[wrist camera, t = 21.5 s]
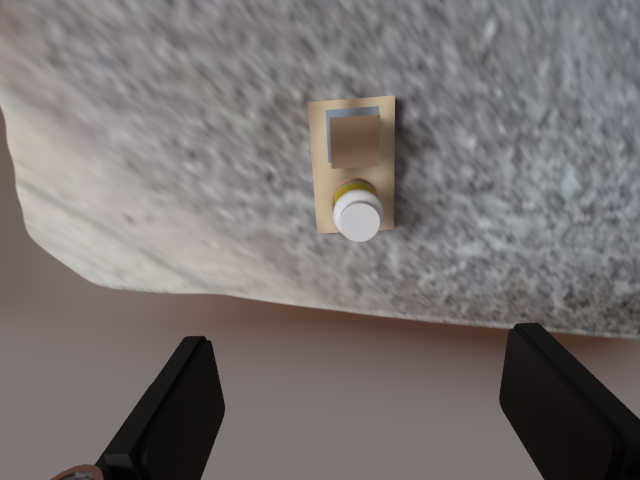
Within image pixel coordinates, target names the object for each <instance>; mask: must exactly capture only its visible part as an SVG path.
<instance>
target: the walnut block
mask: <svg viewBox="0 0 640 480" xmlns="http://www.w3.org/2000/svg"><path fill="white" fill-rule="evenodd" d="M329 119H330V143H331V166H332V169H338V168H358V167H377V166H380V115H367V116H350V117H333V118H329Z"/></svg>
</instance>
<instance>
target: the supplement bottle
mask: <svg viewBox="0 0 640 480" xmlns="http://www.w3.org/2000/svg"><path fill="white" fill-rule="evenodd" d="M383 214H384V213H383V207H382V204H381V202H380V201H379V199H378V197H377V195H376V194H375V192H374V190H373V189H372V187H371V186H370V185H369V184H367V183H366V182H364V181H361V180H350V181H347V182H345V183H343V184H342V185H340V186H339V187H338V189H337V190H336V192H335V194H334V197H333V220H334V223H335V225H336V227H337V229H338V230H339V231H340V232H341V233H342V234H343V235H345V236H346V237H347V238H348V239H350V240H352V241H356V242H363V241H367V240H369V239H371V238H373V237H374V236H375V235H376V233H377V232H378V230H379V228H380V226H381V224H382V221H383Z"/></svg>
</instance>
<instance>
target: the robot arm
mask: <svg viewBox="0 0 640 480" xmlns="http://www.w3.org/2000/svg"><path fill="white" fill-rule="evenodd" d="M499 400H500V405H501V408H502V410H503V412H504V414H505V415H506V417H507V419H508V420H509V422H510V423H511V425H512V427H513V428H514V430H515V432H516V433H517V435H518V437H519V438H520V440H521V442H522V443H523V445H524V447H525V448H526V450H527V452H528V453H529V455H530V457H531V458H532V460H533V462H534V463H535V465H536V467H537V468H538V470H539V472H540V473H541V475H542V477H543V478H544V480H640V419H639V418H638V417H637V416H636V415H635V414H633V413H632V412H631V411H630V410H629V409H628V408H627V407H626V406H625V405H624V404H623V403H622V402H621V401H620V400H619V399H618V398H617V397H616V396H615V395H614V394H612V393H611V392H610V391H609V390H608V389H607V388H606V387H605V386H604V385H603V384H602V383H601V382H600V381H599V380H598V379H597V378H596V377H595V376H594V375H593V374H591V373H590V372H589V371H588V370H587V369H586V368H585V367H584V366H583V365H582V364H581V363H580V362H579V361H578V360H577V359H576V358H575V357H574V356H573V355H572V354H570V353H569V352H568V351H567V350H566V349H565V348H564V347H563V346H562V345H561V344H560V343H559V342H558V341H557V340H556V339H555V338H554V337H553V336H552V335H550V333H548V332H547V331H546V330H545V329H544V328H543V327H542V326H541V325H540V324H538V323H518V324H516V325H515V326H514V329H510V330H509V333H508V339H507V346H506V354H505V361H504V367H503V375H502V381H501V388H500V396H499ZM224 412H225V404H224V399H223V394H222V389H221V385H220V380H219V375H218V370H217V365H216V361H215V356H214V352H213V347H212V343H211V341H209V340H206V338H205V336H187V337H185V338H184V339H183V340H182V342H181V343H180V345H179V346H178V347H177V349H176V350H175V352H174V353H173V355H172V356H171V357H170V359H169V360H168V362H167V363H166V365H165V366H164V368H163V369H162V370H161V372H160V373H159V375H158V376H157V378H156V379H155V381H154V382H153V383H152V384H151V385H150V386H149V388H148V389H147V391H146V392H145V393H144V395H143V396H142V398H141V399H140V400H139V402H138V404H137V405H136V406H135V408H134V409H133V411H132V412H131V414H130V415H129V416H128V418H127V419H126V421H125V422H124V423H123V425H122V426H121V428H120V429H119V431H118V432H117V433H116V435H115V436H114V438H113V439H112V441H111V442H110V443H109V445H108V447H107V448H106V449H105V451H104V452H103V453H102V455H101V456H100V458H99V459H98V461H97V462H96V464H95V465H91V464H83V465H79V466H75V467H72V468H70V469H68V470H65V471H63V472H61V473H60V474H58V475H57V476H55V477H53V478H52V479H50V480H201V477H202V474H203V471H204V469H205V466H206V463H207V460H208V458H209V455H210V453H211V450H212V447H213V444H214V441H215V439H216V436H217V434H218V431H219V428H220V425H221V423H222V420H223V417H224Z"/></svg>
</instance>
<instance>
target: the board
mask: <svg viewBox="0 0 640 480" xmlns="http://www.w3.org/2000/svg"><path fill="white" fill-rule="evenodd" d="M308 114H309V128H310V141H311V154H312V168H313V181H314V194H315V207H316V221H317V234H320V233H338V232H340V231H339V230H338V229H337V227H336V225H335V223H334V220H333V197H334V194H335V192H336V190H337V189H338V187H339V186H340V185H342V184H343V183H345V182H347V181H350V180H361V181H364V182H366V183H367V184H369V185H370V186H371V187H372V189H373V190H374V192H375V194H376V195H377V197H378V199H379V201H380V202H381V204H382V207H383V213H384V214H383V221H382V224H381V226H380V228H379V230H392V229H394V168H395V96H383V97H370V98H357V99H344V100H331V101H318V102H308ZM367 115H380V166H377V167H358V168H338V169H332V166H331V143H330V119H329V118H333V117H350V116H367Z"/></svg>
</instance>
